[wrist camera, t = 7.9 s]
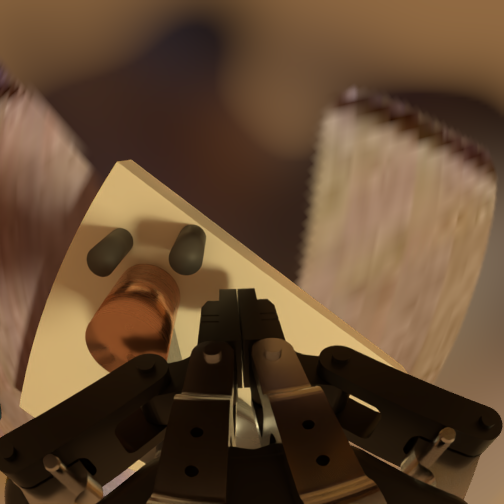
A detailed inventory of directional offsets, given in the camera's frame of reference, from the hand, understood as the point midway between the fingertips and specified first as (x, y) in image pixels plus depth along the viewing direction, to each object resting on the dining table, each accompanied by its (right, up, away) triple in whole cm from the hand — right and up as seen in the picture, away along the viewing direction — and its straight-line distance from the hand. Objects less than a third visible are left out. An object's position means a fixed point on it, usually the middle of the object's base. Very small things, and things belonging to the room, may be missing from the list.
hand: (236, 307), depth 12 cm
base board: (-4, -9, +6) cm, 12 cm away
